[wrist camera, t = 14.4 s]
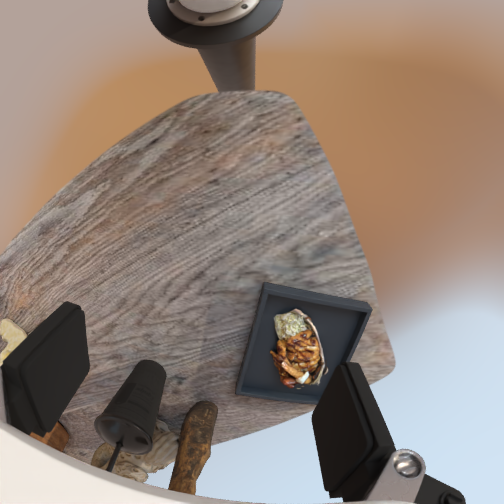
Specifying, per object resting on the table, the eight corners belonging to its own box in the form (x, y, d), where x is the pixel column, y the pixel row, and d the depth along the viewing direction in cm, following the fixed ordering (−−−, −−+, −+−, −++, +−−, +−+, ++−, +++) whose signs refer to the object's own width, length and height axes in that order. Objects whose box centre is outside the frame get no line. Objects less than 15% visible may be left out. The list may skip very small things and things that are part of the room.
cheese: (11, 336, 42) (25, 407, 36) (-13, 325, 36) (-1, 403, 29) (61, 311, 45) (80, 389, 39) (39, 297, 39) (56, 385, 32)
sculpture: (224, 423, 43) (209, 585, 14) (183, 408, 42) (144, 572, 14) (241, 399, 42) (232, 583, 13) (196, 382, 41) (156, 570, 12)
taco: (308, 302, 36) (313, 316, 33) (329, 370, 39) (335, 386, 36) (255, 320, 37) (255, 335, 33) (283, 385, 40) (285, 402, 36)
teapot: (168, 388, 41) (143, 462, 27) (211, 430, 44) (200, 500, 29) (91, 414, 44) (61, 468, 30) (129, 449, 47) (110, 503, 33)
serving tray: (263, 281, 36) (264, 288, 34) (367, 302, 37) (372, 309, 35) (235, 385, 41) (235, 394, 39) (324, 396, 41) (327, 405, 39)
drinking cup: (121, 372, 41) (70, 467, 21) (139, 343, 39) (81, 447, 20) (162, 397, 42) (128, 498, 23) (184, 370, 40) (150, 483, 21)
